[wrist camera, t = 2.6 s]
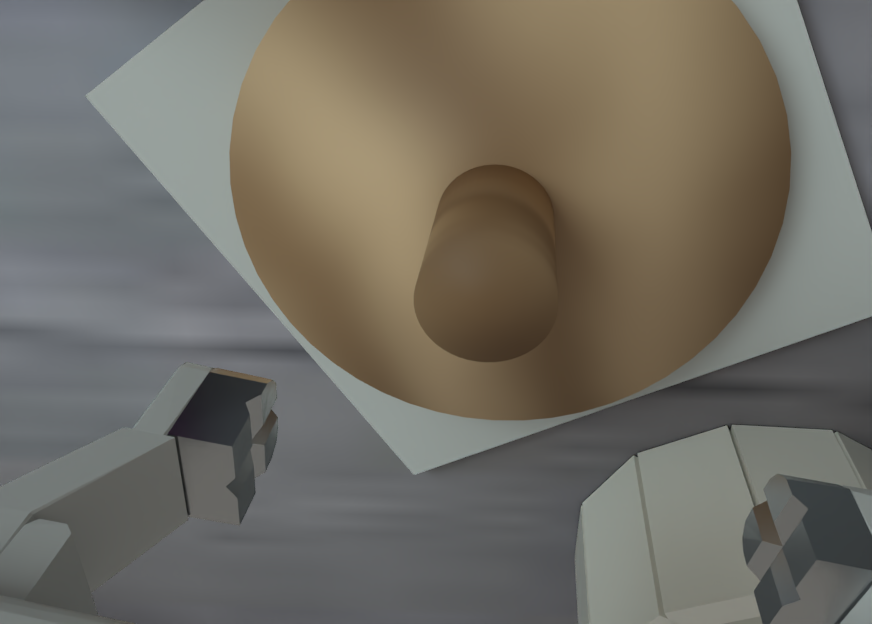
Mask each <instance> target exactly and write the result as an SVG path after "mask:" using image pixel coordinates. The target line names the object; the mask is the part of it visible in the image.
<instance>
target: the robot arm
mask: <svg viewBox="0 0 872 624" xmlns="http://www.w3.org/2000/svg"><path fill="white" fill-rule="evenodd" d="M276 399H277V391H276V383H275V382H274V381H273V380H271V379H266V378H262V377H257V376H252V375H247V374H243V373H238V372H233V371H229V370H224V369H219V368H211V367H206V366H202V365H197V364H193V363H188V362H187V363H185V364H183V365H181V366H180V367H178V369H177V370H176V371H175V373H174V374H173V375H172V377H171V378H170V379H169V381H168V382H167V383H166V385H165V386H164V387H163V389H162V390H161V391H160V393H159V394H158V395H157V397H156V398H155V399H154V401H153V402H152V403H151V405H150V406H149V407H148V409H147V410H146V411H145V413H144V414H143V415H142V417H141V418H140V419H139V421H138V422H137V423H136V425H135V426H134V427H133V429H130V428H125V427H123V428H121V429H119V430H117V431H115V432H113V433H111V434H109V435H106V436H104V437H102V438H100V439H98V440H96V441H94V442H92V443H90V444H88V445H86V446H84V447H81V448H79V449H77V450H75V451H73V452H71V453H69V454H67V455H65V456H63V457H61V458H59V459H57V460H54V461H52V462H50V463H48V464H46V465H44V466H42V467H40V468H38V469H36V470H34V471H32V472H29V473H27V474H25V475H23V476H21V477H19V478H17V479H15V480H13V481H11V482H9V483H7V484H4V485H2V486H0V624H134V623H130V622H125V621H120V620H115V619H111V618H106V617H101V616H98V613H97V609H96V606H95V603H94V600H93V597H92V594H91V592H93V591H94V590H95V589H97V588H98V587H99V586H101V585H102V584H103V583H105V582H106V581H107V580H109V579H110V578H111V577H113V576H114V575H115V574H117V573H118V572H119V571H121V570H122V569H123V568H125V567H126V566H127V565H129V564H130V563H131V562H133V561H134V560H135V559H137V558H138V557H139V556H141V555H142V554H143V553H145V552H146V551H147V550H149V549H150V548H151V547H153V546H154V545H155V544H157V543H158V542H159V541H161V540H162V539H163V538H165V537H166V536H167V535H169V534H170V533H171V532H173V531H174V530H175V529H177V528H178V527H179V526H181V525H182V524H183V523H185V522H186V521H187V520H188V517H193V518H199V519H205V520H210V521H216V522H222V523H228V524H234V525H240V524H241V522H242V520H243V518H244V516H245V514H246V512H247V509H248V507H249V505H250V503H251V501H252V499H253V497H254V495H255V478H256V477H258V476H260V475H261V474H263V473H264V472H266V470H267V467H268V465H269V463H270V461H271V459H272V455H273V452H274V448H275V445H276V441H277V433H278V417H277V416H276V415H275V413H274V412H273V411H272V410H271V409H272V407H273V405H274V403H275V401H276ZM763 490H764V493H765V496H766V499H767V501H765V502H763V503H761V504H759V505H757V506H755V507H753V508H752V509H751V511H750V513H749V515H748V517H747V519H746V521H745V525H744V531H743V536H742V542H743V553H744V557H745V561H746V565H747V567H748V568H749V569H750V570H751V571H752V572H753V573H754V574H755V575H756V576H757V578H758V579H759V580H760V582H759V583H758V585H757V586H756V588H755V590H754V594H755V598H756V602H757V605H758V609H759V612H760V616H761V620H762V623H763V624H872V490H868V489H863V488H857V487H851V486H845V485H843V486H841V485H838V484H832V483H827V482H821V481H816V480H810V479H804V478H799V477H793V476H788V475H782V474H776V475H775V476H773V477H772V478H770V479H769V481H768V483H767V484H766V486H765V487H764V489H763Z"/></svg>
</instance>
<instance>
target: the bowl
mask: <svg viewBox="0 0 872 624" xmlns="http://www.w3.org/2000/svg"><path fill="white" fill-rule="evenodd" d="M637 454H638V457H636V456H634V455H633V456H632V457H631V458H630V459H629V460H628V461H627V462H626V463H625V464H624V465H623V466H622V467H620V468H619V469H618V470H617V471H616V472H615V473H614V474H613V475H612V476H611V477H610V478H609V479H607V480H606V481H605V482H604V483H603V484H602V485H601V486H600V487H599V488H598V489H597V490H596V491H595V492H593V493H592V494H591V495H590V496H589V497H588V498H587V499H586V500H585V501H584V502H583V503H582V505H583V506H581V508H580V517H579V525H578V533H577V541H576V549H575V572H576V591H577V610H578V624H763V623H762V620H761V616H760V612H759V609H758V605H757V602H756V598H755V594H754V590H755V588H756V586H757V585H758V583H759V582H760V580H759V579H758V578H757V576H756V575H755V574H754V573H753V572H752V571H751V570H750V569H749V568H748V567H747V565H746V561H745V557H744V553H743V542H742V536H743V531H744V525H745V521H746V519H747V517H748V515H749V513H750V511H751V509H752V508H753V507H755V506H757V505H759V504H761V503H763V502H765V501H767V499H766V496H765V493H764V490H763V489H764V487H765V486H766V484H767V483H768V481H769V479H770V478H772V477H773V476H775V475H776V474H782V475H788V476H793V477H799V478H804V479H810V480H816V481H821V482H827V483H832V484H838V485H841V486H843V485H845V486H851V487H857V488H863V489H868V490H872V450H871V449H869V448H867V447H865V446H864V445H862V444H860V443H858V442H856V441H854V440H852V439H850V438H849V437H847V436H845V435H843V434H841V433H839V432H835V433H833V431H832V430H822V429H804V428H785V427H767V426H749V425H732V427H731V430H729V428H728V426H727V425H726V426H723V427H720V428H716V429H713V430H710V431H707V432H704V433H700V434H697V435H694V436H691V437H688V438H684V439H681V440H678V441H675V442H672V443H668V444H665V445H662V446H659V447H656V448H652V449H649V450H646V451H643V452H640V453H637Z"/></svg>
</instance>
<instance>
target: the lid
mask: <svg viewBox="0 0 872 624" xmlns="http://www.w3.org/2000/svg"><path fill="white" fill-rule="evenodd" d="M229 156H230V185H231V191H232V197H233V203H234V209H235V215H236V219H237V222H238V226H239V229H240V232H241V235H242V239H243V242H244V245H245V248H246V250H247V252H248V254H249V257H250V259H251V261H252V263H253V266H254V268H255V270H256V272H257V274H258V276H259V278H260V279H261V281H262V283H263V284H264V286H265V288H266V289H267V291H268V293H269V294H270V296H271V298H272V299H273V301H274V302H275V303H276V305H277V306H278V307H279V309H280V310H281V311H282V313H283V314H284V315H285V316H286V318H287V319H288V320H289V322H290V323H291V324H292V325H293V326H294V327H295V328H296V329H297V330H298V331H299V332H300V333H301V334H302V335H303V336H304V337H305V339H306V340H307V341H308V342H309V343H310V344H311V345H312V346H314V347H315V348H316V349H317V350H318V351H320V352H321V353H322V354H323V355H324V356H326V357H327V358H328V359H329V360H330V361H332V362H333V363H334V364H336V365H337V366H339V367H340V368H342V369H343V370H345V371H346V372H348V373H349V374H351V375H352V376H354V377H355V378H357V379H358V380H360V381H362V382H364V383H366V384H368V385H369V386H371V387H373V388H375V389H377V390H379V391H381V392H383V393H385V394H387V395H390V396H392V397H395V398H397V399H400V400H402V401H404V402H407V403H409V404H413V405H416V406H419V407H422V408H426V409H429V410H432V411H436V412H440V413H445V414H450V415H455V416H460V417H465V418H475V419H485V420H522V421H523V420H534V419H545V418H554V417H559V416H564V415H570V414H575V413H580V412H584V411H587V410H591V409H594V408H597V407H601V406H604V405H607V404H611V403H613V402H615V401H618V400H620V399H623V398H625V397H628V396H630V395H632V394H635V393H637V392H639V391H641V390H643V389H645V388H647V387H649V386H650V385H652V384H654V383H656V382H658V381H660V380H661V379H663V378H665V377H667V376H668V375H670V374H671V373H672V372H674V371H675V370H677V369H678V368H680V367H681V366H682V365H684V364H685V363H687V362H688V361H690V360H691V359H692V358H693V357H695V356H696V355H697V354H698V353H699V352H700V351H701V350H703V349H704V348H705V347H706V346H707V345H708V344H709V343H710V342H712V341H713V340H714V339H715V338H716V337H717V336H718V335H719V334H720V332H721V331H722V330H723V329H724V328H725V327H726V326H727V325H728V324H729V322H730V321H731V320H732V319H733V318H734V317H735V316H736V315H737V313H738V312H739V310H740V309H741V308H742V306H743V305H744V303H745V302H746V300H747V299H748V297H749V296H750V295H751V293H752V292H753V290H754V289H755V287H756V285H757V284H758V282H759V280H760V278H761V276H762V274H763V272H764V270H765V268H766V266H767V264H768V262H769V260H770V258H771V256H772V253H773V250H774V248H775V245H776V242H777V239H778V236H779V233H780V230H781V228H782V225H783V220H784V215H785V210H786V205H787V200H788V195H789V190H790V169H791V146H790V137H789V128H788V119H787V113H786V109H785V105H784V102H783V98H782V95H781V91H780V87H779V84H778V80H777V77H776V74H775V72H774V70H773V68H772V66H771V64H770V61H769V59H768V57H767V55H766V53H765V50H764V48H763V46H762V44H761V42H760V40H759V38H758V37H757V35H756V34H755V32H754V31H753V29H752V28H751V26H750V25H749V23H748V22H747V20H746V19H745V17H744V16H743V14H742V13H741V11H740V10H739V8H738V7H737V6H736V4H735V3H734V2H733V1H732V0H290V1H289V2H288V3H287V4H286V5H285V7H284V8H283V9H282V10H281V11H280V13H279V14H278V15H277V16H276V17H275V19H274V21H273V22H272V24H271V26H270V27H269V29H268V31H267V32H266V34H265V36H264V37H263V39H262V41H261V42H260V44H259V46H258V47H257V49H256V51H255V53H254V55H253V58H252V60H251V63H250V65H249V68H248V70H247V72H246V75H245V77H244V80H243V82H242V85H241V88H240V92H239V96H238V100H237V104H236V108H235V112H234V116H233V123H232V132H231V141H230V151H229Z"/></svg>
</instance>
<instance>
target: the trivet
mask: <svg viewBox="0 0 872 624" xmlns="http://www.w3.org/2000/svg"><path fill="white" fill-rule="evenodd" d="M289 1H290V0H203V1H202V2H201V3H200V4H199V5H197V6H196V7H195V8H194V9H192V10H191V11H190V12H189V13H187V14H186V15H185V16H184V17H182V18H181V19H180V20H179V21H177V22H176V23H175V24H174V25H172V26H171V27H170V28H169V29H168V30H166V31H165V32H164V33H163V34H161V35H160V36H159V37H158V38H156V39H155V40H154V41H153V42H151V43H150V44H149V45H148V46H146V47H145V48H144V49H143V50H142V51H140V52H139V53H138V54H137V55H135V56H134V57H133V58H132V59H130V60H129V61H128V62H127V63H125V64H124V65H123V66H122V67H120V68H119V69H118V70H117V71H115V72H114V73H113V74H112V75H111V76H109V77H108V78H107V79H106V80H104V81H103V82H102V83H101V84H99V85H98V86H97V87H96V88H94V89H93V90H92V91H91V92H89V93H88V94H87V95H86V98H87V99H88V100H89V101H90V102H91V103H92V105H93V106H94V107H95V108H96V109H97V110H98V111H99V113H100V114H101V115H102V116H103V117H104V118H105V120H106V121H107V122H108V123H109V124H110V125H111V126H112V128H113V129H114V130H115V131H116V132H117V133H118V134H119V136H120V137H121V138H122V139H123V140H124V141H125V143H126V144H127V145H128V146H129V147H130V148H131V149H132V151H133V152H134V153H135V154H136V155H137V156H138V158H139V159H140V160H141V161H142V162H143V163H144V164H145V166H146V167H147V168H148V169H149V170H150V171H151V173H152V174H153V175H154V176H155V177H156V178H157V179H158V181H159V182H160V183H161V184H162V185H163V186H164V187H165V189H166V190H167V191H168V192H169V193H170V194H171V196H172V197H173V198H174V199H175V200H176V201H177V202H178V204H179V205H180V206H181V207H182V208H183V209H184V211H185V212H186V213H187V214H188V215H189V216H190V217H191V219H192V220H193V221H194V222H195V223H196V224H197V226H198V227H199V228H200V229H201V230H202V231H203V232H204V234H205V235H206V236H207V237H208V238H209V239H210V240H211V242H212V243H213V244H214V245H215V246H216V247H217V249H218V250H219V251H220V252H221V253H222V254H223V255H224V257H225V258H226V259H227V260H228V261H229V262H230V264H231V265H232V266H233V267H234V268H235V269H236V270H237V272H238V273H239V274H240V275H241V276H242V277H243V279H244V280H245V281H246V282H247V283H248V284H249V285H250V287H251V288H252V289H253V290H254V291H255V292H256V293H257V295H258V296H259V297H260V298H261V299H262V300H263V302H264V303H265V304H266V305H267V306H268V307H269V308H270V310H271V311H272V312H273V313H274V314H275V315H276V317H277V318H278V319H279V320H280V321H281V322H282V323H283V325H284V326H285V327H286V328H287V329H288V330H289V332H290V333H291V334H292V335H293V336H294V337H295V338H296V340H297V341H298V342H299V343H300V344H301V345H302V346H303V348H304V349H305V350H306V351H307V352H308V353H309V355H310V356H311V357H312V358H313V359H314V360H315V361H316V363H317V364H318V365H319V366H320V367H321V368H322V370H323V371H324V372H325V373H326V374H327V375H328V376H329V378H330V379H331V380H332V381H333V382H334V383H335V385H336V386H337V387H338V388H339V389H340V390H341V391H342V393H343V394H344V395H345V396H346V397H347V398H348V399H349V401H350V402H351V403H352V404H353V405H354V406H355V408H356V409H357V410H358V411H359V412H360V413H361V414H362V416H363V417H364V418H365V419H366V420H367V421H368V423H369V424H370V425H371V426H372V427H373V428H374V429H375V431H376V432H377V433H378V434H379V435H380V436H381V438H382V439H383V440H384V441H385V442H386V443H387V444H388V446H389V447H390V448H391V449H392V450H393V451H394V452H395V454H396V455H397V456H398V457H399V458H400V459H401V461H402V462H403V463H404V464H405V465H406V466H407V467H408V469H409V470H410V471H411V472H412V473H413V474H414V475H415V474H418V473H421V472H424V471H427V470H430V469H433V468H436V467H438V466H441V465H444V464H447V463H450V462H453V461H456V460H459V459H461V458H464V457H467V456H470V455H473V454H476V453H479V452H482V451H485V450H487V449H490V448H493V447H496V446H499V445H502V444H505V443H508V442H511V441H513V440H516V439H519V438H522V437H525V436H528V435H531V434H534V433H537V432H539V431H542V430H545V429H548V428H551V427H554V426H557V425H560V424H562V423H565V422H568V421H571V420H574V419H577V418H580V417H583V416H586V415H588V414H591V413H594V412H597V411H600V410H603V409H606V408H609V407H612V406H614V405H617V404H620V403H623V402H626V401H629V400H632V399H635V398H638V397H640V396H643V395H646V394H649V393H652V392H655V391H658V390H661V389H663V388H666V387H669V386H672V385H675V384H678V383H681V382H684V381H687V380H689V379H692V378H695V377H698V376H701V375H704V374H707V373H710V372H713V371H715V370H718V369H721V368H724V367H727V366H730V365H733V364H736V363H739V362H741V361H744V360H747V359H750V358H753V357H756V356H759V355H762V354H764V353H767V352H770V351H773V350H776V349H779V348H782V347H785V346H788V345H790V344H793V343H796V342H799V341H802V340H805V339H808V338H811V337H814V336H816V335H819V334H822V333H825V332H828V331H831V330H834V329H837V328H840V327H842V326H845V325H848V324H851V323H854V322H857V321H860V320H863V319H865V318H868V317H871V316H872V231H871V228H870V225H869V222H868V219H867V216H866V212H865V209H864V206H863V203H862V200H861V197H860V194H859V191H858V188H857V185H856V181H855V178H854V175H853V172H852V169H851V166H850V163H849V160H848V157H847V154H846V151H845V147H844V144H843V141H842V138H841V135H840V132H839V129H838V126H837V123H836V120H835V116H834V113H833V110H832V107H831V104H830V101H829V98H828V95H827V92H826V89H825V86H824V82H823V79H822V76H821V73H820V70H819V67H818V64H817V61H816V58H815V55H814V51H813V48H812V45H811V42H810V39H809V36H808V33H807V30H806V27H805V24H804V20H803V17H802V14H801V11H800V8H799V5H798V2H797V0H732V1H733V2H734V3H735V4H736V6H737V7H738V8H739V10H740V11H741V13H742V14H743V16H744V17H745V19H746V20H747V22H748V23H749V25H750V26H751V28H752V29H753V31H754V32H755V34H756V35H757V37H758V38H759V40H760V42H761V44H762V46H763V48H764V50H765V53H766V55H767V57H768V59H769V61H770V64H771V66H772V68H773V70H774V72H775V74H776V77H777V80H778V84H779V87H780V91H781V95H782V98H783V102H784V105H785V109H786V113H787V119H788V128H789V137H790V146H791V169H790V190H789V195H788V200H787V205H786V210H785V215H784V220H783V225H782V228H781V230H780V233H779V236H778V239H777V242H776V245H775V248H774V250H773V253H772V256H771V258H770V260H769V262H768V264H767V266H766V268H765V270H764V272H763V274H762V276H761V278H760V280H759V282H758V284H757V285H756V287H755V289H754V290H753V292H752V293H751V295H750V296H749V297H748V299H747V300H746V302H745V303H744V305H743V306H742V308H741V309H740V310H739V312H738V313H737V315H736V316H735V317H734V318H733V319H732V320H731V321H730V322H729V324H728V325H727V326H726V327H725V328H724V329H723V330H722V331H721V332H720V334H719V335H718V336H717V337H716V338H715V339H714V340H713V341H712V342H710V343H709V344H708V345H707V346H706V347H705V348H704V349H703V350H701V351H700V352H699V353H698V354H697V355H696V356H695V357H693V358H692V359H691V360H690V361H688V362H687V363H685V364H684V365H682V366H681V367H680V368H678V369H677V370H675V371H674V372H672V373H671V374H670V375H668V376H667V377H665V378H663V379H661V380H660V381H658V382H656V383H654V384H652V385H650V386H649V387H647V388H645V389H643V390H641V391H639V392H637V393H635V394H632V395H630V396H628V397H625V398H623V399H620V400H618V401H615V402H613V403H611V404H607V405H604V406H601V407H597V408H594V409H591V410H587V411H584V412H580V413H575V414H570V415H564V416H559V417H554V418H545V419H534V420H523V421H522V420H485V419H475V418H465V417H460V416H455V415H450V414H445V413H440V412H436V411H432V410H429V409H426V408H422V407H419V406H416V405H413V404H409V403H407V402H404V401H402V400H400V399H397V398H395V397H392V396H390V395H387V394H385V393H383V392H381V391H379V390H377V389H375V388H373V387H371V386H369V385H368V384H366V383H364V382H362V381H360V380H358V379H357V378H355V377H354V376H352V375H351V374H349V373H348V372H346V371H345V370H343V369H342V368H340V367H339V366H337V365H336V364H334V363H333V362H332V361H330V360H329V359H328V358H327V357H326V356H324V355H323V354H322V353H321V352H320V351H318V350H317V349H316V348H315V347H314V346H312V345H311V344H310V343H309V342H308V341H307V340H306V339H305V337H304V336H303V335H302V334H301V333H300V332H299V331H298V330H297V329H296V328H295V327H294V326H293V325H292V324H291V323H290V322H289V320H288V319H287V318H286V316H285V315H284V314H283V313H282V311H281V310H280V309H279V307H278V306H277V305H276V303H275V302H274V301H273V299H272V298H271V296H270V294H269V293H268V291H267V289H266V288H265V286H264V284H263V283H262V281H261V279H260V278H259V276H258V274H257V272H256V270H255V268H254V266H253V263H252V261H251V259H250V257H249V254H248V252H247V250H246V248H245V245H244V242H243V239H242V235H241V232H240V229H239V226H238V222H237V219H236V215H235V209H234V203H233V197H232V191H231V185H230V156H229V151H230V141H231V132H232V123H233V116H234V112H235V108H236V104H237V100H238V96H239V92H240V88H241V85H242V82H243V80H244V77H245V75H246V72H247V70H248V68H249V65H250V63H251V60H252V58H253V55H254V53H255V51H256V49H257V47H258V46H259V44H260V42H261V41H262V39H263V37H264V36H265V34H266V32H267V31H268V29H269V27H270V26H271V24H272V22H273V21H274V19H275V17H276V16H277V15H278V14H279V13H280V11H281V10H282V9H283V8H284V7H285V5H286V4H287V3H288V2H289Z"/></svg>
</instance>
